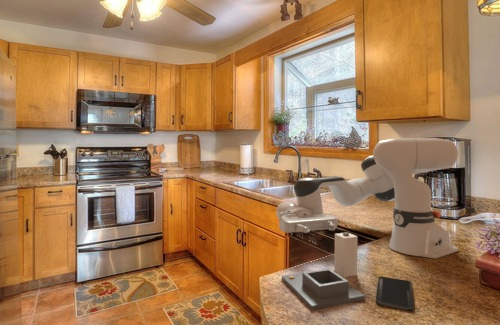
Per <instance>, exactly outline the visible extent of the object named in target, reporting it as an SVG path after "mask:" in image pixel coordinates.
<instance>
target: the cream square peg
mask: <svg viewBox="0 0 500 325" xmlns="http://www.w3.org/2000/svg"><path fill="white" fill-rule="evenodd" d="M358 238H359V237H358V236H357V235H356V234H352V233H350V232H340V233H334V267H333V268H334V269H333V271H334V272H336V273H337V274H339V275H340V276H342V277H343V278H347V277H355V276H358Z"/></svg>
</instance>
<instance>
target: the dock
mask: <svg viewBox="0 0 500 325" xmlns="http://www.w3.org/2000/svg"><path fill="white" fill-rule="evenodd" d="M281 281H282V282H284V284H286V285H287V287H289V289H291V291H293V293H294V294H296V296H297V297H298V298H300V300H301V301H303V302H304V304H305V305H306V306H308V307H309V309H311V311H315V310H319V309H325V308H330V307H334V306H335V307H336V306H340V305H344V304H345V305H346V304H350V303H355V302H359V301H364V300H365V296H366V295H365V294H363V293H362V292H360V291H359V290H357V289H356V288H354V287H353V286H352V285H350V284H349V282H350V281H349V280H348V279H346V278H345V277H342V276H341V275H339V274H338V273H336V272H335V271H334V269H331V268H330V267H329V268H324V269H317V270H312V271H304V272H299V273H293V274H289V275H288V274H287V275H282V276H281Z"/></svg>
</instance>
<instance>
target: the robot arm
mask: <svg viewBox="0 0 500 325" xmlns="http://www.w3.org/2000/svg"><path fill="white" fill-rule="evenodd" d="M458 157H459V149H458V148H457V145H456V144H455V143H454V142H453V141H452V140H451V139H450V140H449V139H444V138H437V137H415V138H414V137H410V138H409V137H407V138H405V137H402V138H401V137H399V138H398V137H397V138H395V137H393V138H388V139H384V140H380V141H378V142H377V143H376V145H375V146H374V148H373V152H372V155H369V156H367V157H366V158H365V159H363V160H362V161H361V164H360V167H361V171H362V172H364V175H365V177H366V178H364V177H358V178H351V179H349V180H346V179H345V178H344V177H342V176H324V177H323V176H321V177H301V178H300V179H297V180H296V182H295V184H294V186H293V191H294V195H295V198H296V203H292V202H289V201H286V202H280V203H279V204H278V206H277V207H276V217H277V219H278V228H279V230H280V231H281V232H283V233H285V234H286V233H288V234H290V233H304V234H308V233H310V231H319V230H321V231H323V230H329V231H335V230H336V229H337V228H338V218H337V217H336V216H332V215H329V214H324V209H323V208H324V207H323V204H322V197H321V188H326V187H328V188H329V190H330V191H331V193H332V196H333V199H334V200H335V201H336V202H337V203H338V204H339V205H341V206H344V207H351V206H355V205H357V204H359V203H362V202H363V201H365V200H366V199H367V198H369V197H371V196H374V200H378V201H380V202H385V203H387V202H393V201H394V207H393V210H392V216H393V217H392V218H393V223H392V229H391V236H390V238H389V245H388V248H390V249H391V250H393V251H395V252H398V253H400V254H404V255H410V256H413V257H414V256H415V257H425V258H428V259H429V258H430V259H439V258H442V257H445V256H449V255H450V254H454V253H456V252H459V248H458V247H457V246H455V245H453V244H451V242H450V241H451V238H450V237H451V236H450V234H449V232H448V231H447V230H446V229H444V228H443V227H442V226H441V225H440V224H438V223H437V222H436V219H435V218H441V211H436V210H433V211H432V190H431V188H430V186H429V185H428V184H427V183H426V182H424V181H422V180H420V179H417V178H415V177H413V175H416V174H423V173H429V172H433V171H437V170H439V171H440V170H446V169H451V168H452V167H453V166H454V165H455V164H456V163H457V161H458Z"/></svg>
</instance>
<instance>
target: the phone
mask: <svg viewBox="0 0 500 325" xmlns="http://www.w3.org/2000/svg"><path fill="white" fill-rule="evenodd" d="M376 289H377V290H376V296H375V304H376V305H378V306H381V307H386V308H390V309H395V310H400V311H402V312H403V311H405V312H409V313H412V312H414V311H415V300H414V292H413V284H412V281H409V280H405V279H399V278H395V277H394V278H393V277H388V276H378V280H377V287H376Z"/></svg>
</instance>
